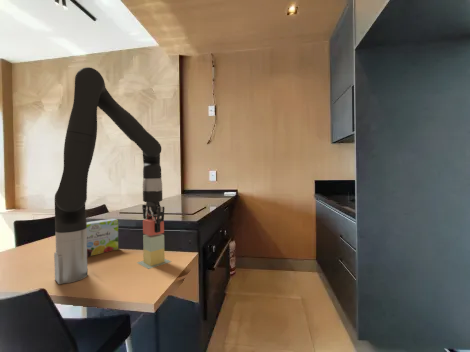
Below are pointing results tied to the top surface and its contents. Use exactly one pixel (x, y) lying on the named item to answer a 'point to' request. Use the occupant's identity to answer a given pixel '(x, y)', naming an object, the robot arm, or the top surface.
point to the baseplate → (153, 265)
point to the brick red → (151, 227)
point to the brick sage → (153, 242)
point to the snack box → (102, 236)
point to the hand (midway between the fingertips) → (153, 230)
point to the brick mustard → (153, 257)
